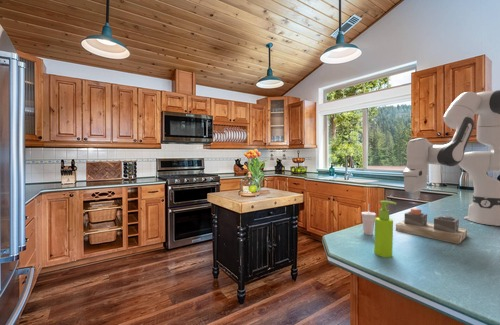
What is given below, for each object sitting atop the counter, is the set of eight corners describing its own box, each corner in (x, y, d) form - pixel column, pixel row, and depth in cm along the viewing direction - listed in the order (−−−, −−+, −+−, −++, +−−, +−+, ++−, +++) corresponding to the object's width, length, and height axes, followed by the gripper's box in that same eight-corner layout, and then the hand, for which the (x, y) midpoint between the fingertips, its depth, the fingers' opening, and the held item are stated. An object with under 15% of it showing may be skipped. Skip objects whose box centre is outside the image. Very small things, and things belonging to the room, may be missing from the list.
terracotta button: (412, 215, 124) (412, 208, 124) (422, 217, 121) (422, 209, 121) (409, 217, 122) (409, 209, 121) (419, 219, 118) (419, 210, 118)
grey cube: (441, 223, 115) (441, 215, 115) (453, 225, 112) (453, 217, 112) (438, 225, 112) (439, 216, 112) (451, 227, 109) (451, 218, 109)
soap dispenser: (395, 259, 88) (396, 203, 87) (373, 255, 91) (374, 201, 90) (395, 253, 93) (397, 200, 92) (375, 249, 96) (376, 198, 95)
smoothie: (375, 232, 117) (376, 203, 117) (376, 236, 111) (376, 205, 111) (360, 230, 120) (361, 202, 119) (360, 234, 114) (361, 204, 113)
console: (407, 224, 131) (408, 209, 131) (466, 235, 113) (467, 218, 112) (395, 230, 121) (396, 213, 121) (458, 244, 102) (459, 225, 102)
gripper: (416, 169, 130) (416, 195, 130) (401, 172, 117) (400, 201, 117) (431, 170, 125) (430, 197, 125) (416, 173, 112) (416, 203, 113)
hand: (416, 199), depth 121 cm, fingers closed
